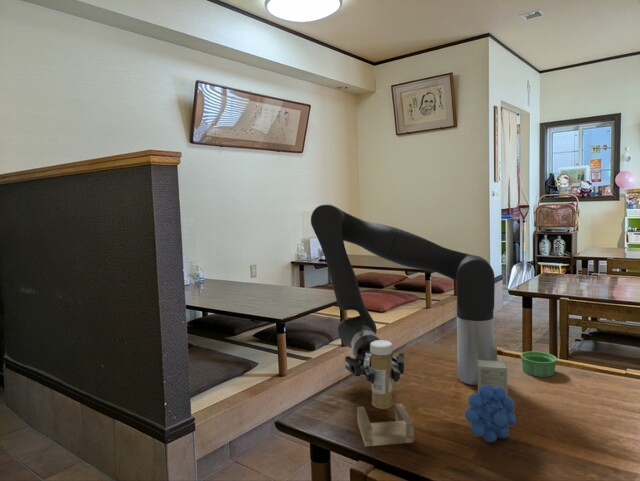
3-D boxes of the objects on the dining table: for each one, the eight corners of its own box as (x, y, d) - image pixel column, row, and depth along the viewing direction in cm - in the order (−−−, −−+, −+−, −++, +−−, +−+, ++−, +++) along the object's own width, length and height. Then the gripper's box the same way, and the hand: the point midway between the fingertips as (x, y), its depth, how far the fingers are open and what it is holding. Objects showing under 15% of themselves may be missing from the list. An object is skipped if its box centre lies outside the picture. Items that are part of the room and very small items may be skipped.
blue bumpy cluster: (480, 459, 84) (480, 397, 83) (459, 441, 90) (458, 383, 89) (530, 446, 87) (530, 387, 86) (506, 430, 93) (506, 375, 92)
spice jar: (397, 405, 93) (396, 343, 92) (380, 412, 91) (380, 348, 89) (382, 397, 97) (382, 337, 96) (366, 403, 95) (365, 342, 93)
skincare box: (507, 412, 101) (506, 360, 100) (508, 422, 97) (508, 368, 96) (477, 409, 103) (477, 358, 102) (477, 418, 99) (477, 365, 98)
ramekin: (521, 376, 121) (521, 360, 121) (520, 364, 130) (520, 349, 129) (558, 380, 118) (558, 363, 117) (554, 367, 126) (554, 352, 126)
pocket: (401, 420, 99) (401, 403, 99) (413, 442, 90) (413, 423, 90) (357, 424, 98) (357, 407, 98) (365, 446, 89) (364, 427, 89)
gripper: (338, 336, 106) (349, 362, 90) (397, 332, 108) (418, 358, 91) (339, 366, 107) (350, 398, 90) (397, 362, 108) (419, 393, 91)
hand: (384, 377), depth 91 cm, fingers closed on spice jar, 4 cm apart
